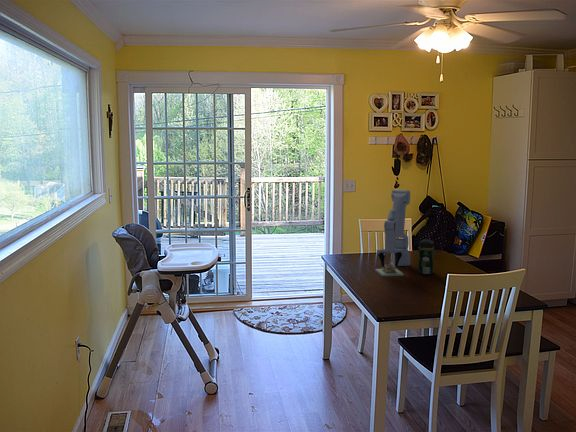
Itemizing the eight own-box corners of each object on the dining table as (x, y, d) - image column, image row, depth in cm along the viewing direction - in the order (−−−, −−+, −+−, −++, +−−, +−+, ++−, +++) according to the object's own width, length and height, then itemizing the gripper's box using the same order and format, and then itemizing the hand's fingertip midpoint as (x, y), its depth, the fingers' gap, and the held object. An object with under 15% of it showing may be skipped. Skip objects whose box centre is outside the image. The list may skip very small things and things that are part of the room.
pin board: (395, 270, 288) (396, 261, 288) (403, 275, 277) (404, 266, 276) (375, 270, 287) (375, 262, 286) (382, 276, 275) (382, 267, 274)
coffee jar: (418, 270, 288) (420, 237, 286) (433, 271, 286) (435, 238, 283) (416, 274, 279) (418, 241, 277) (432, 275, 277) (433, 242, 274)
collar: (392, 269, 284) (392, 264, 284) (395, 272, 279) (395, 266, 279) (383, 269, 284) (383, 264, 283) (386, 272, 279) (386, 267, 278)
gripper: (379, 243, 274) (379, 268, 276) (405, 243, 276) (404, 267, 278) (375, 241, 281) (375, 265, 283) (401, 240, 283) (400, 264, 285)
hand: (389, 266), depth 281 cm, fingers open, 7 cm apart
